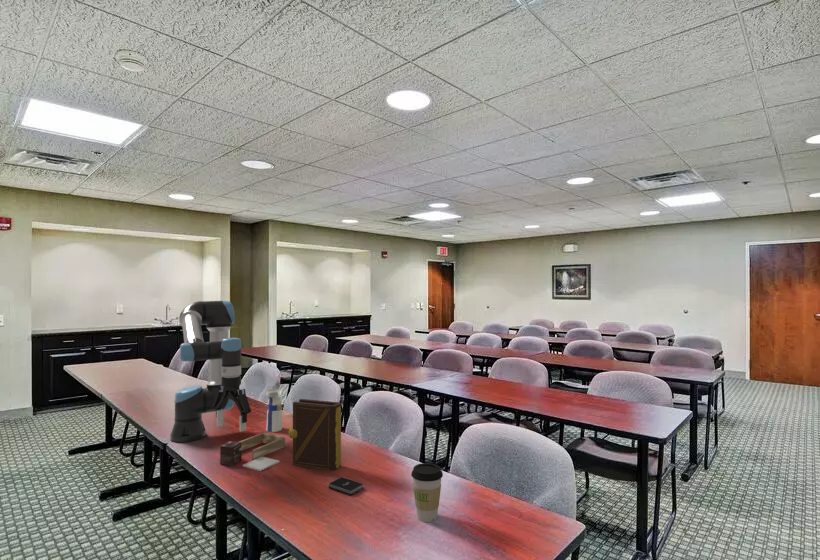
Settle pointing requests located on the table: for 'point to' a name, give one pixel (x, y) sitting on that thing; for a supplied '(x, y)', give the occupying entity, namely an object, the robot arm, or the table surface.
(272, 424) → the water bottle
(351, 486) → the external hard drive
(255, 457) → the wooden frame
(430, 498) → the coffee cup
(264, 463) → the tile
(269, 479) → the table surface
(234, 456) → the box
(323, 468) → the book
